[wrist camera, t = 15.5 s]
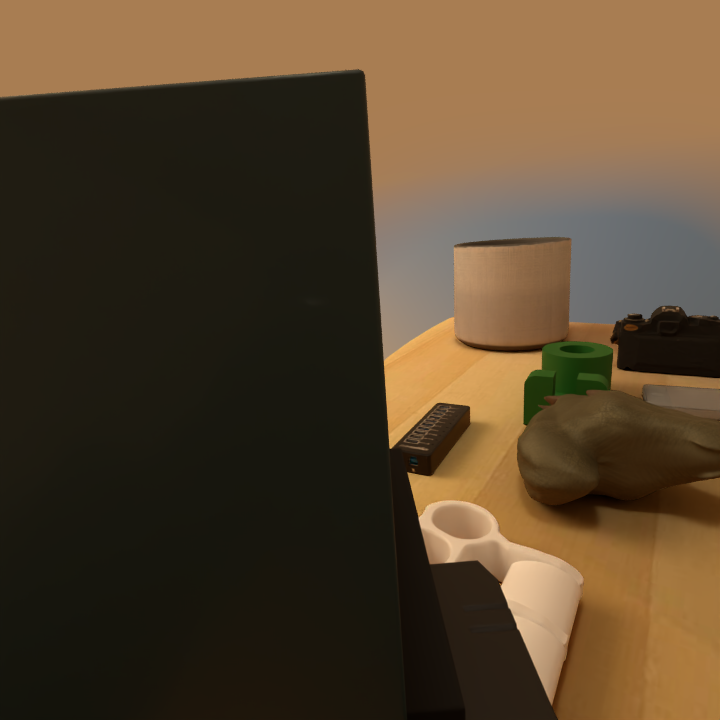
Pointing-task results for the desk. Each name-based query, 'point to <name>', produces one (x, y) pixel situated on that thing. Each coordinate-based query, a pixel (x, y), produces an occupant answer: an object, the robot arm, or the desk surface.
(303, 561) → the book
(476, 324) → the planter
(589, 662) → the desk surface
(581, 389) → the green bracket
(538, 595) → the knuckle duster
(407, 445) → the multiport hub
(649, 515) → the desk surface
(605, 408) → the dinosaur head
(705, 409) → the phone
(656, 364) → the film camera
